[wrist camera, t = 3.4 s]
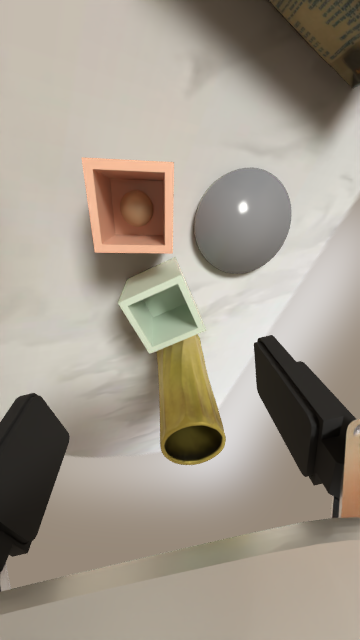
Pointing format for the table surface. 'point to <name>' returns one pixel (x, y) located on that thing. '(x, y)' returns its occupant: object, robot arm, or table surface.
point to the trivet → (242, 220)
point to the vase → (187, 405)
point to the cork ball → (136, 208)
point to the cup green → (161, 306)
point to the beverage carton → (328, 31)
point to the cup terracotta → (105, 197)
